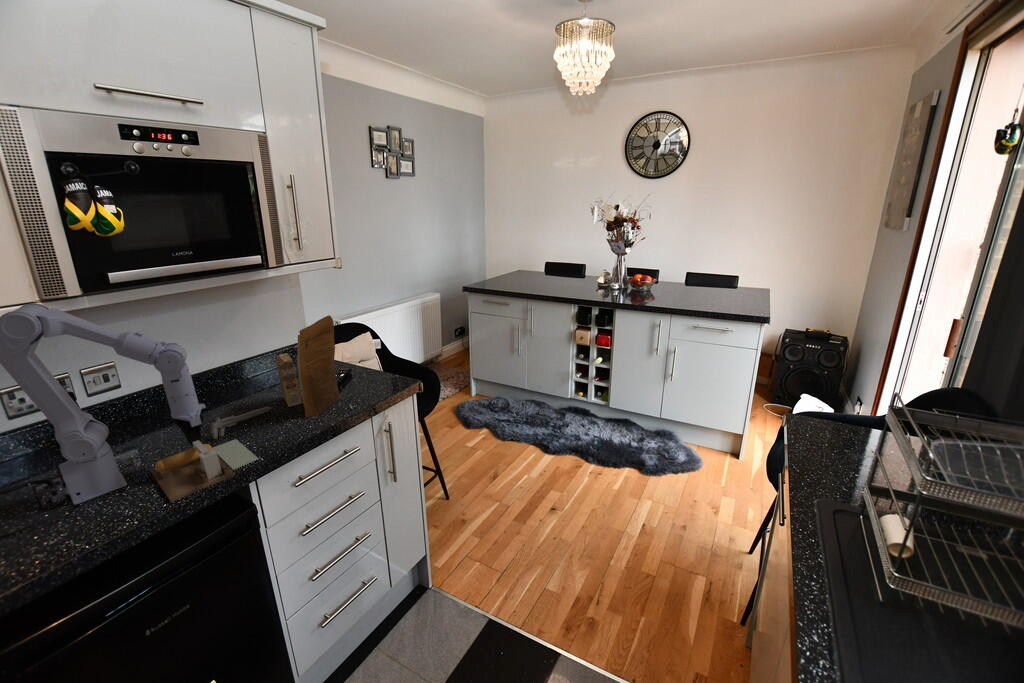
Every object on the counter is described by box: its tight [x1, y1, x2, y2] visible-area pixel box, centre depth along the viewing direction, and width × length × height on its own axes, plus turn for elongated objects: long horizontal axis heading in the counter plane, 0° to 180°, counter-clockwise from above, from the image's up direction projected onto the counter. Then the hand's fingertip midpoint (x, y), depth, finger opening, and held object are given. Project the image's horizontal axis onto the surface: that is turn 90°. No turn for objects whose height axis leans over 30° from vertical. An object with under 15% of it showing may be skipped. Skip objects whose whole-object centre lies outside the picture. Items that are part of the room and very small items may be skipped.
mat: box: [212, 438, 259, 471], centre depth 121 cm, size 6×16×1 cm, turn 48°
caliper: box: [210, 406, 273, 440], centre depth 137 cm, size 20×1×6 cm, turn 162°
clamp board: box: [149, 456, 235, 503], centre depth 113 cm, size 13×19×3 cm
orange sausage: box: [154, 443, 213, 472], centre depth 114 cm, size 12×3×3 cm, turn 138°
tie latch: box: [192, 440, 222, 479], centre depth 112 cm, size 3×11×6 cm, turn 48°
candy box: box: [274, 352, 303, 408], centre depth 149 cm, size 9×4×15 cm, turn 36°
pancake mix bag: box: [296, 315, 341, 418], centre depth 143 cm, size 7×19×28 cm, turn 164°
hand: (195, 443), depth 116 cm, fingers closed
